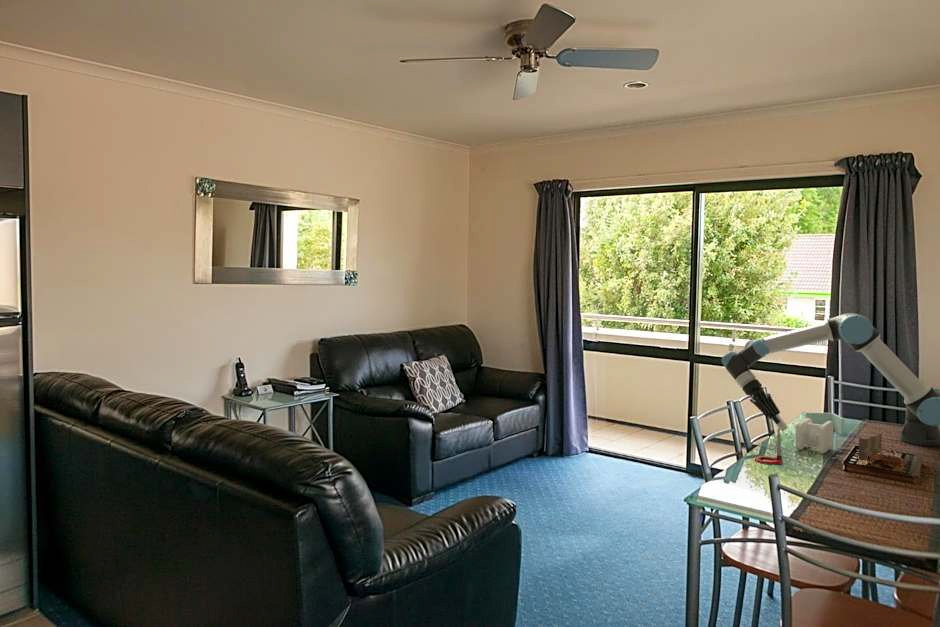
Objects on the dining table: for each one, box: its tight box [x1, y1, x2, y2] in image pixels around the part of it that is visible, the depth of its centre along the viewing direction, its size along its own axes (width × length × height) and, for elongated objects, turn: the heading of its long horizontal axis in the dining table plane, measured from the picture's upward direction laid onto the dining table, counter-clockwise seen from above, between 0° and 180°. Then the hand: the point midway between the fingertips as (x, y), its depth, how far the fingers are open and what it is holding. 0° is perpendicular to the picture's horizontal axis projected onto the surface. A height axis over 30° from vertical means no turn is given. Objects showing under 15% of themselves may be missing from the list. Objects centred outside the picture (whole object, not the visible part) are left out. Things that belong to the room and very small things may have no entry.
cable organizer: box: [794, 417, 834, 455], centre depth 272 cm, size 15×11×12 cm
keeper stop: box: [858, 432, 883, 460], centre depth 260 cm, size 14×13×10 cm
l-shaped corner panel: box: [804, 411, 845, 435], centre depth 305 cm, size 12×12×8 cm
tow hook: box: [754, 427, 783, 465], centre depth 256 cm, size 8×13×9 cm
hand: (785, 429), depth 282 cm, fingers closed
